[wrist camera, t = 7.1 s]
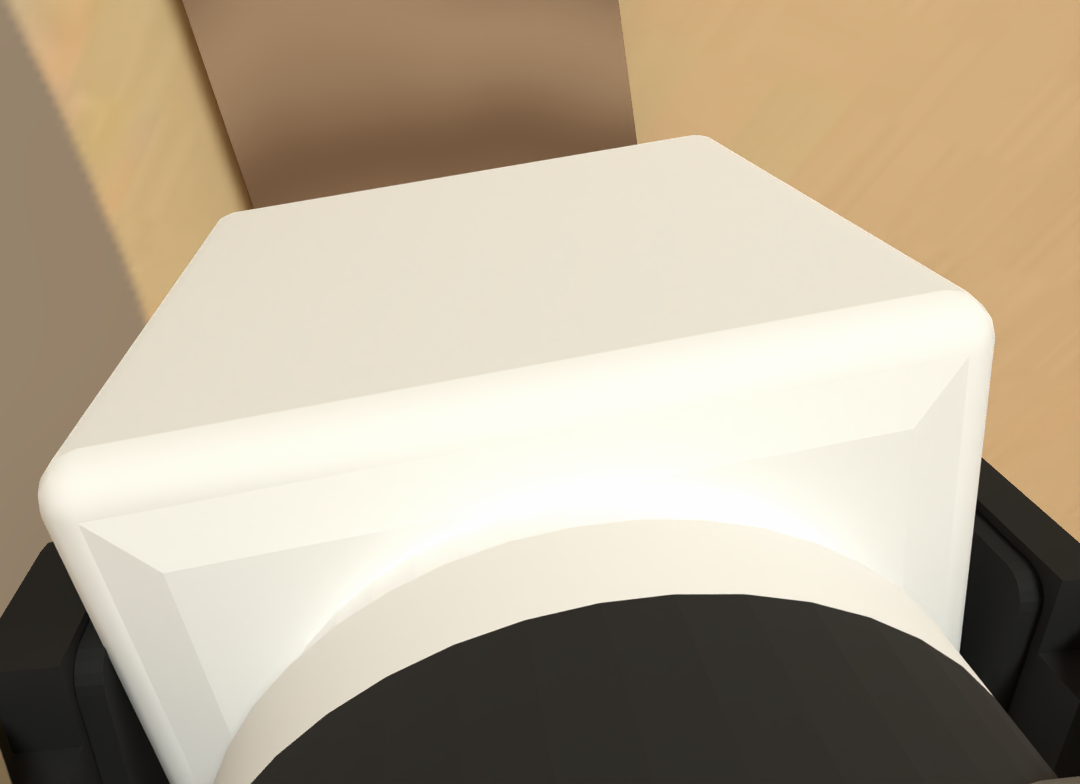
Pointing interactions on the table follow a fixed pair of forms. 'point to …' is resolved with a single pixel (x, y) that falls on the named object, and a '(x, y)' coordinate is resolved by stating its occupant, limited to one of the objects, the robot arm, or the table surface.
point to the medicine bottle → (545, 491)
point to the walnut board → (409, 88)
